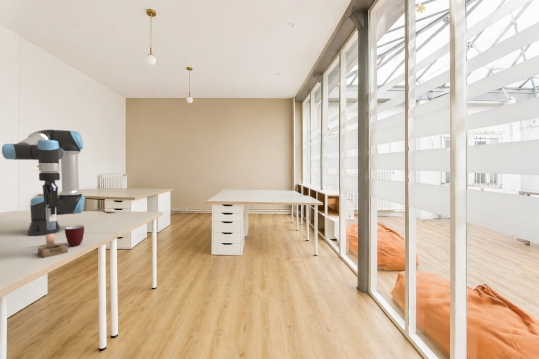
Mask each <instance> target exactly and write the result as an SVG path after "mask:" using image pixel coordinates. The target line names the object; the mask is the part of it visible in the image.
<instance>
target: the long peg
mask: <svg viewBox="0 0 539 359" xmlns="http://www.w3.org/2000/svg"><path fill="white" fill-rule="evenodd" d="M47 207H49V204H48V205H46V213H47V230H53V229H56V221H50V222H49V212H48V208H47Z"/></svg>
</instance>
